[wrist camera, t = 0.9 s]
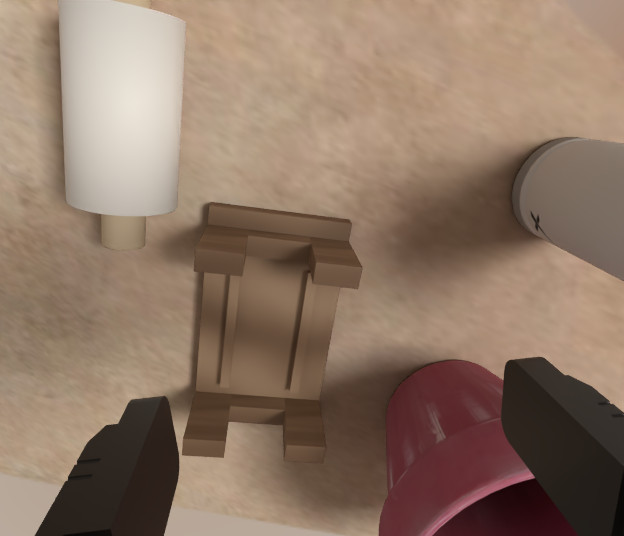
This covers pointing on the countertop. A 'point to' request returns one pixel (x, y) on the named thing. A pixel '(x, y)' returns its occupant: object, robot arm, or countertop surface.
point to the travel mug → (576, 199)
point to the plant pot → (458, 461)
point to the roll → (121, 113)
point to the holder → (266, 324)
